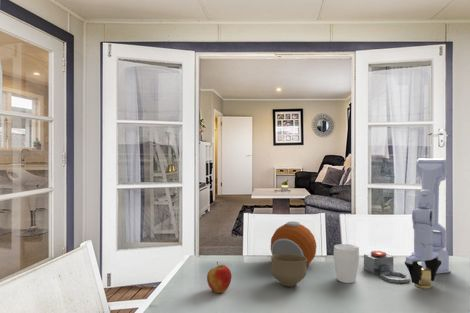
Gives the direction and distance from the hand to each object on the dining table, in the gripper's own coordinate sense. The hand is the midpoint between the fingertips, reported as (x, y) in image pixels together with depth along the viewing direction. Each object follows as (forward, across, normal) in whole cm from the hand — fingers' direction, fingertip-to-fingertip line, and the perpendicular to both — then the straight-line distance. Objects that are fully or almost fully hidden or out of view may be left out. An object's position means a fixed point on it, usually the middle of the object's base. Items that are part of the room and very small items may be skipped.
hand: (423, 281), depth 124 cm
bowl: (+2, +42, -20) cm, 47 cm away
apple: (+2, +67, -24) cm, 71 cm away
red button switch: (+1, +2, -14) cm, 15 cm away
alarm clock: (+2, +28, -40) cm, 48 cm away
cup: (+2, +20, -16) cm, 26 cm away
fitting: (+2, 0, 0) cm, 2 cm away
